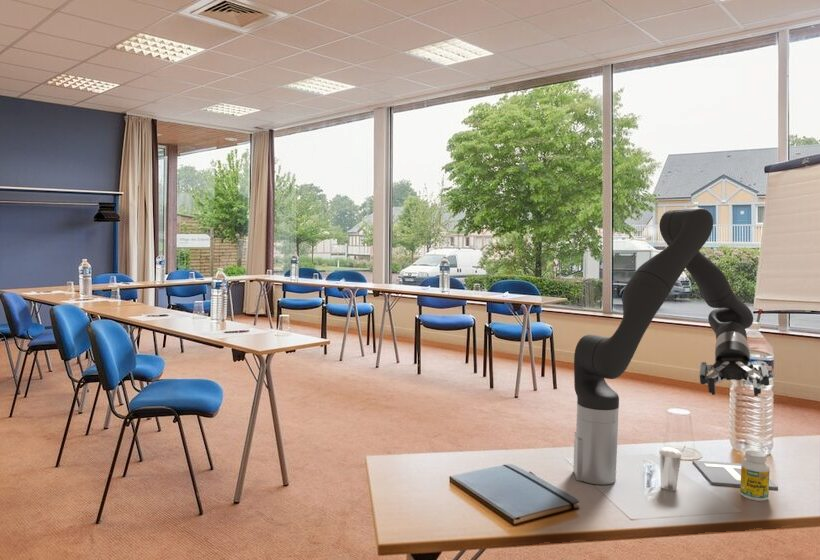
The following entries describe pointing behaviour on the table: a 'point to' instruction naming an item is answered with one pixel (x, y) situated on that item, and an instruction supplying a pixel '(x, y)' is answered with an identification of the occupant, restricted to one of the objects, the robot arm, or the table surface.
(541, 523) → the table surface
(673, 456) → the milkshake
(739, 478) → the letter board
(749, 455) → the supplement bottle
